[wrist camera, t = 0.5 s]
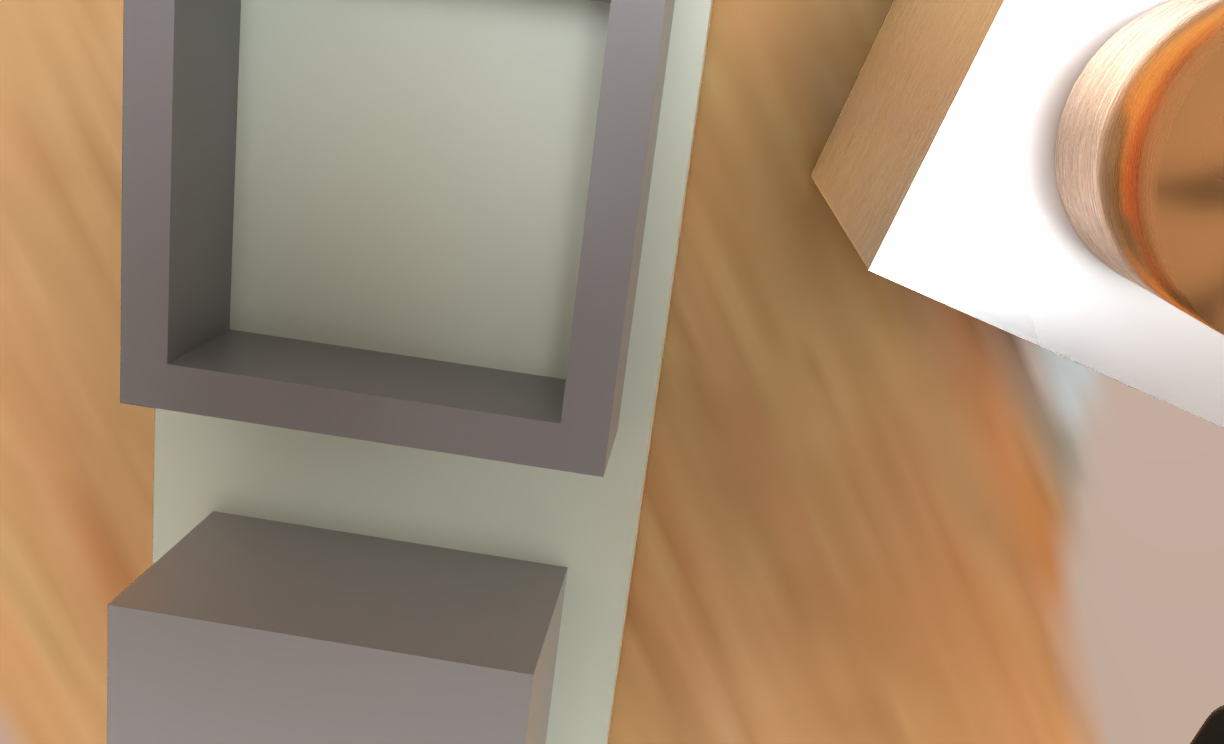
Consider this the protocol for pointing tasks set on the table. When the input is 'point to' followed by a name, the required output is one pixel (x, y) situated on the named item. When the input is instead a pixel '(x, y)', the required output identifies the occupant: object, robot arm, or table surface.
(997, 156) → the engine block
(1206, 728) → the robot arm
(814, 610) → the table surface
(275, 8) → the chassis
